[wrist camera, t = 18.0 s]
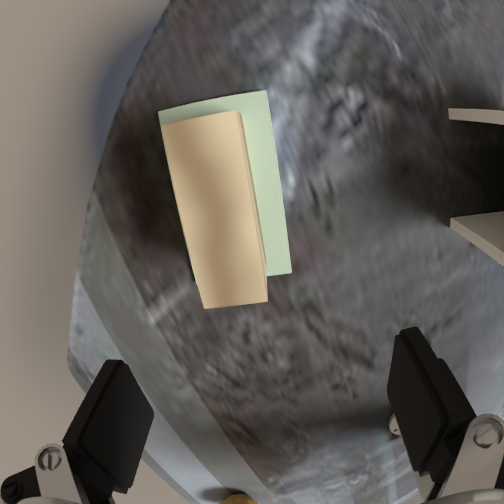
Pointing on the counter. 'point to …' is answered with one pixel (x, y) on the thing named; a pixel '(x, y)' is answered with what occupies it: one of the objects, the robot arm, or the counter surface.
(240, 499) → the potato
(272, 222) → the mat
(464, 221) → the block
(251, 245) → the wooden block
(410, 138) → the counter surface
